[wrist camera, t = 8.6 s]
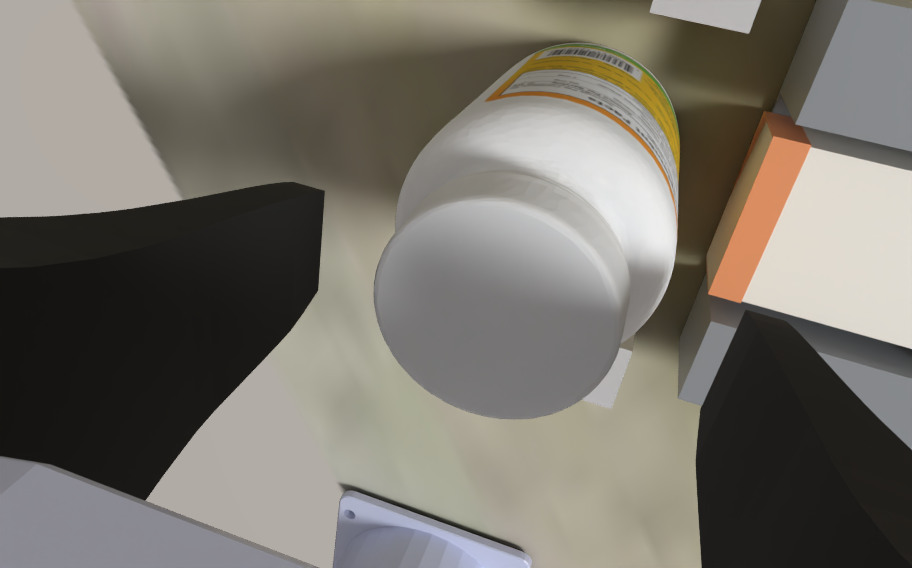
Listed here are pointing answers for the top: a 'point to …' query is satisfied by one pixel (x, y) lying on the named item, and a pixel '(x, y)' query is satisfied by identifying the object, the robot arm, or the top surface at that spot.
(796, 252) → the orange-ended white block
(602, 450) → the top surface
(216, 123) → the top surface
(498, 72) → the top surface
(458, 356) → the supplement bottle
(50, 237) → the robot arm
